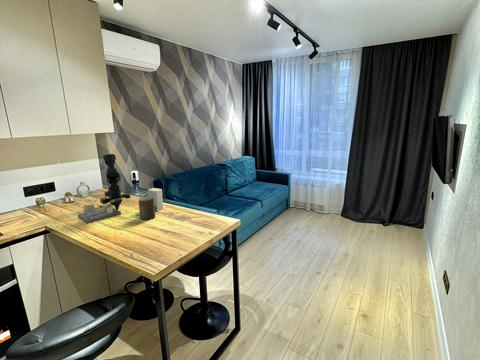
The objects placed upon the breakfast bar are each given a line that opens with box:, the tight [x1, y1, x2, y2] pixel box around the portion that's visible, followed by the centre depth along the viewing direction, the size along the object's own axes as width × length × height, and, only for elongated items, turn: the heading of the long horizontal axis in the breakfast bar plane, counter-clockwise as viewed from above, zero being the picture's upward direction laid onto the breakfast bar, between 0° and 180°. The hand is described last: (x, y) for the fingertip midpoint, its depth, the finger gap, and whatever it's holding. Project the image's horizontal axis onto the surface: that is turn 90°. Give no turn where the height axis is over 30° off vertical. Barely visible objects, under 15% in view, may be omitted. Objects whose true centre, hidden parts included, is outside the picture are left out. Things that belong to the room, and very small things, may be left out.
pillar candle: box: [137, 195, 156, 221], centre depth 175 cm, size 10×10×15 cm
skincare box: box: [147, 187, 164, 212], centre depth 190 cm, size 8×7×16 cm
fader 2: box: [107, 206, 113, 213], centre depth 180 cm, size 2×3×4 cm
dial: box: [82, 203, 96, 214], centre depth 181 cm, size 6×3×6 cm, turn 137°
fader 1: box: [102, 204, 109, 211], centre depth 184 cm, size 2×3×4 cm
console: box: [77, 206, 122, 225], centre depth 181 cm, size 22×18×2 cm
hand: (117, 209), depth 184 cm, fingers closed
